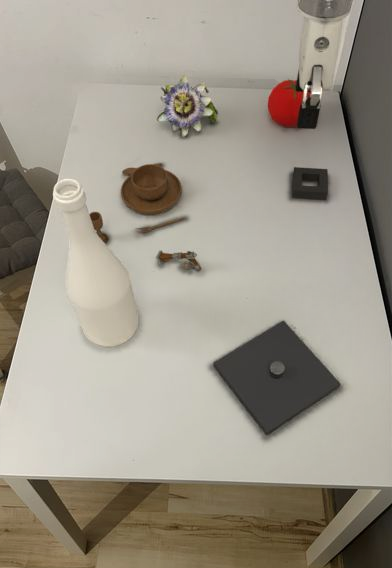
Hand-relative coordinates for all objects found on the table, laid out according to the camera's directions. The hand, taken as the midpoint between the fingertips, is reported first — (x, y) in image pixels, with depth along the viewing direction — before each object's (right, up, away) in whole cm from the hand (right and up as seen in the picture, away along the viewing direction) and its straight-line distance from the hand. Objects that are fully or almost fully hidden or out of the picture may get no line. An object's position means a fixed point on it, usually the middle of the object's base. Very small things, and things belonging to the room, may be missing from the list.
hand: (305, 108), depth 84 cm
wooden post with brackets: (-22, -25, +6) cm, 34 cm away
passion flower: (-20, +9, +26) cm, 34 cm away
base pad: (-6, -45, -6) cm, 46 cm away
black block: (+4, -9, +15) cm, 18 cm away
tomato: (+2, +10, +25) cm, 27 cm away
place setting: (-31, -12, +14) cm, 36 cm away
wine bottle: (-33, -37, 0) cm, 49 cm away
